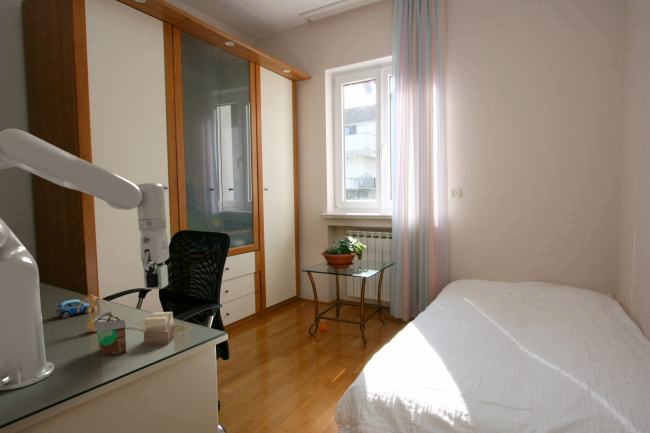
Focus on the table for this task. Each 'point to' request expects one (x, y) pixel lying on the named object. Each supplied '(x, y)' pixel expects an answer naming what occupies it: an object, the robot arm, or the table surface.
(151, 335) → the walnut block
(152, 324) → the birch block
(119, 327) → the food container
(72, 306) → the toy car
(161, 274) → the green block
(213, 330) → the table surface
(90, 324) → the figurine
